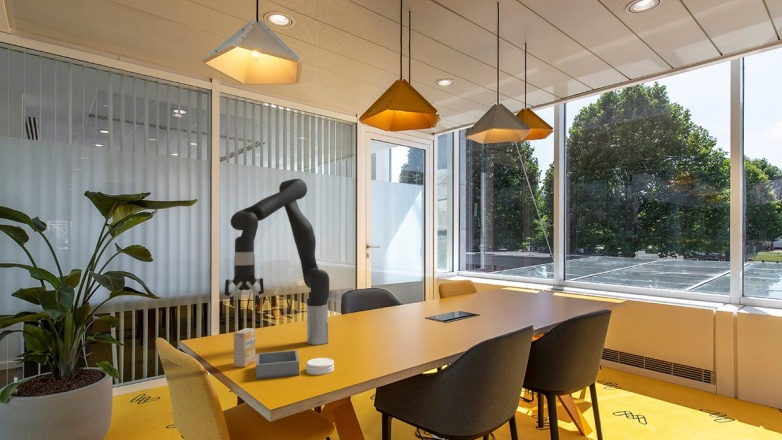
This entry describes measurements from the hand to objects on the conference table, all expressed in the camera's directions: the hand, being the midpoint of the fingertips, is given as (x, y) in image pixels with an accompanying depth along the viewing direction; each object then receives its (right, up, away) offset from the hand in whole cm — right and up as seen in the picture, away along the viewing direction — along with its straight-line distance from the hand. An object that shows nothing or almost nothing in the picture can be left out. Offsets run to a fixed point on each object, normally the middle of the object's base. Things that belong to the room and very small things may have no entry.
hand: (244, 305), depth 167 cm
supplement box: (0, -23, -1) cm, 23 cm away
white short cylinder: (+31, -22, -9) cm, 39 cm away
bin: (+15, -22, -9) cm, 28 cm away
